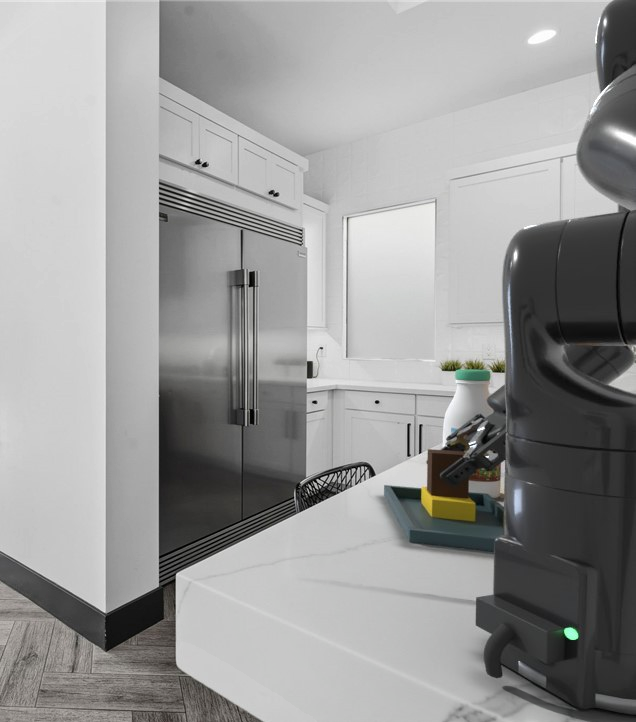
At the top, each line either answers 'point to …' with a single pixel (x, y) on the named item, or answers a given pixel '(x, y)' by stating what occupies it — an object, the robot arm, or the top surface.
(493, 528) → the tray
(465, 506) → the block on yellow base
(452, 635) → the top surface
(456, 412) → the milk bottle
